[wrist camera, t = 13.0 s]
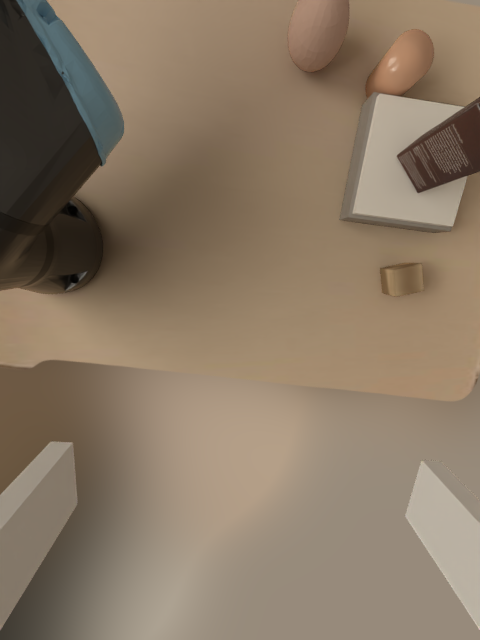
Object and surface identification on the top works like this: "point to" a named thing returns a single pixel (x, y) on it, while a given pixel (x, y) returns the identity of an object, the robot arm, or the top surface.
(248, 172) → the top surface
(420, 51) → the tan round piece
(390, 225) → the podium
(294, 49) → the egg
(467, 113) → the box
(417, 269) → the oak block
